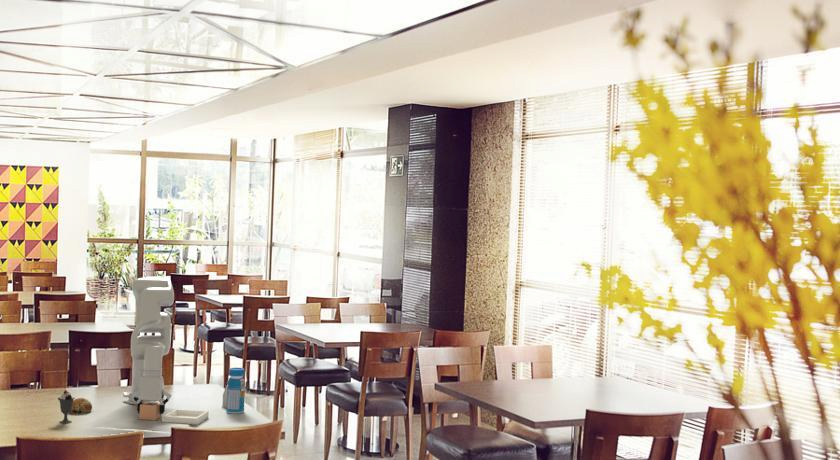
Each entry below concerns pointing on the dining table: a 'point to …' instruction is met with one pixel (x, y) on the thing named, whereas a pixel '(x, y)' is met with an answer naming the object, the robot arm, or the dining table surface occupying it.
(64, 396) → the sundae
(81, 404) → the bread roll
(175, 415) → the tray
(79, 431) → the dining table surface
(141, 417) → the collar
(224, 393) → the grey faceted block
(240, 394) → the beverage bottle
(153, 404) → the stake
